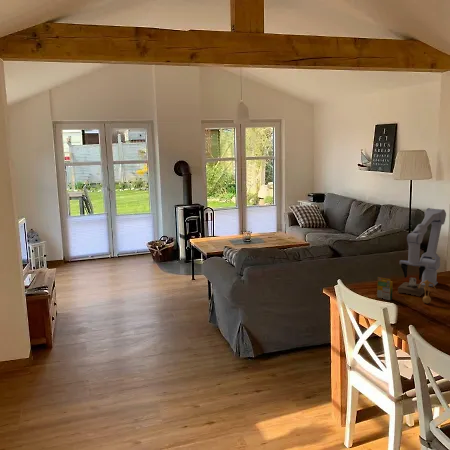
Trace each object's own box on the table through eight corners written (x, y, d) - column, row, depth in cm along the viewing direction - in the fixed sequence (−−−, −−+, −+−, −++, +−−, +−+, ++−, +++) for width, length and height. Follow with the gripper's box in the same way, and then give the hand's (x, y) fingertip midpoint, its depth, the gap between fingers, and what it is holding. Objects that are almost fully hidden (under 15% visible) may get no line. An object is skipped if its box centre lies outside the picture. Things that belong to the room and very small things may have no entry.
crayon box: (392, 299, 251) (393, 278, 248) (389, 300, 248) (390, 279, 246) (379, 296, 255) (379, 275, 253) (376, 297, 253) (377, 276, 251)
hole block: (404, 287, 270) (404, 281, 269) (426, 290, 263) (426, 285, 262) (397, 292, 260) (397, 287, 260) (420, 296, 253) (420, 291, 253)
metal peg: (409, 289, 264) (410, 277, 263) (415, 290, 262) (416, 278, 261) (408, 291, 261) (409, 278, 260) (414, 292, 259) (415, 279, 258)
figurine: (418, 304, 242) (419, 281, 240) (417, 300, 248) (418, 278, 246) (435, 305, 240) (437, 282, 238) (434, 301, 246) (435, 279, 244)
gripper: (398, 254, 259) (397, 278, 261) (426, 257, 250) (424, 282, 253) (402, 251, 264) (401, 274, 267) (429, 254, 256) (428, 278, 258)
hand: (412, 278), depth 260 cm, fingers open, 7 cm apart
